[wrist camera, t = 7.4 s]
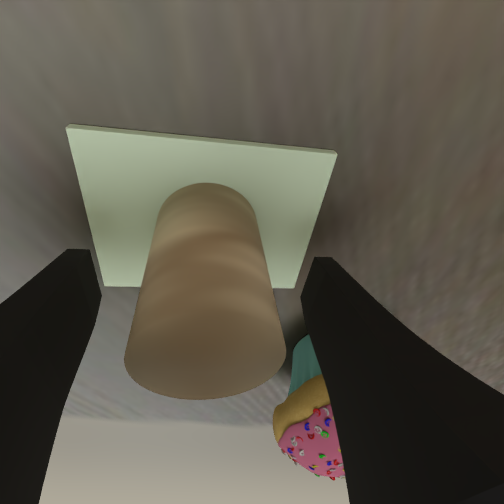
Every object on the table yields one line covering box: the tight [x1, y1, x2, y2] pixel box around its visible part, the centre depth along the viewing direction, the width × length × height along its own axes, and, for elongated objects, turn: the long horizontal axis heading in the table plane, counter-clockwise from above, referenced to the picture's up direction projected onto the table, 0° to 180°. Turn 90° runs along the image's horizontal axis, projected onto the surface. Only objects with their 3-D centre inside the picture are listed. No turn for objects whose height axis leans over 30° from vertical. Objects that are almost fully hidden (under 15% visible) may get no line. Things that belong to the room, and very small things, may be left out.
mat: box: [66, 124, 338, 288], centre depth 12 cm, size 9×7×1 cm
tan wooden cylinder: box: [124, 183, 286, 400], centre depth 10 cm, size 4×4×6 cm
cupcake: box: [273, 334, 345, 480], centre depth 15 cm, size 9×8×12 cm
